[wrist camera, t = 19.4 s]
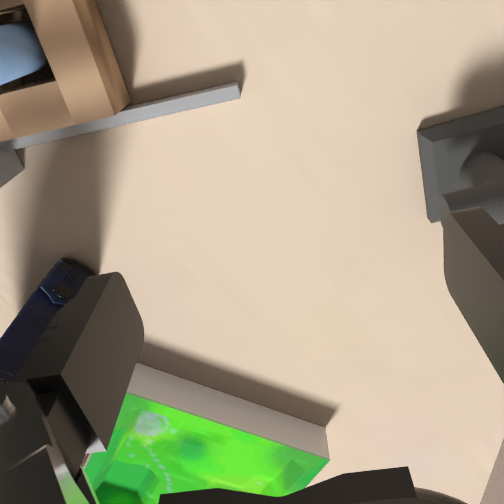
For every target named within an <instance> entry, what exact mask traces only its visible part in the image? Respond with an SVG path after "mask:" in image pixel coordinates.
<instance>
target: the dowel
mask: <svg viewBox="0 0 504 504" xmlns="http://www.w3.org/2000/svg"><path fill="white" fill-rule="evenodd" d="M48 66H50V64H49V62H48V60H47V57H46V55H45V52H44V50H43V48H42V45H41V43H40V40H39V38H38V36H37V33H36V31H35V28H34V26H33V24H32V21H31V20H30V21H24V22H18V23H12V24H6V25H0V85H2V84H5V83H7V82H10V81H12V80H15V79H17V78H20V77H23V76H25V75H28V74H30V73H33V72H35V71H38V70H40V69H43V68H46V67H48Z"/></svg>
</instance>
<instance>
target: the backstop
mask: <svg viewBox="0 0 504 504" xmlns="http://www.w3.org/2000/svg"><path fill="white" fill-rule="evenodd" d="M240 96H241V93H240V88H239V84H238V81H237V82H233V83H229V84H224V85H220V86H216V87H212V88H207V89H203V90H199V91H194V92H190V93H186V94H181V95H177V96H173V97H168V98H164V99H160V100H155V101H151V102H147V103H142V104H138V105H134V106H130V107H125V108H123V109H122V110H121V111H120V112H118V113H117V114H116V115H115V116H111V117H107V118H103V119H98V120H94V121H89V122H85V123H81V124H76V125H72V126H68V127H63V128H59V129H55V130H50V131H46V132H42V133H37V134H33V135H29V136H24V137H20V138H16V139H11V140H7V141H3V142H0V188H1V187H2V186H3V185H5V184H6V183H7V182H9V181H10V180H11V179H12V178H14V177H15V176H16V175H17V174H19V173H20V172H21V171H23V170H24V167H23V165H22V163H21V161H20V159H19V157H18V155H17V153H16V151H15V149H19V148H23V147H28V146H32V145H37V144H41V143H45V142H50V141H54V140H59V139H63V138H68V137H72V136H76V135H81V134H85V133H90V132H94V131H98V130H103V129H107V128H112V127H116V126H120V125H125V124H129V123H134V122H138V121H143V120H147V119H151V118H156V117H160V116H165V115H169V114H173V113H178V112H182V111H187V110H191V109H195V108H200V107H204V106H209V105H213V104H218V103H222V102H226V101H231V100H235V99H240Z"/></svg>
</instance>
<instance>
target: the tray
mask: <svg viewBox="0 0 504 504" xmlns="http://www.w3.org/2000/svg"><path fill="white" fill-rule="evenodd" d="M329 461H330V458H329V451H328V444H327V436H326V429H325V427H322V426H319V425H316V424H313V423H310V422H307V421H304V420H302V419H299V418H296V417H293V416H290V415H287V414H284V413H281V412H278V411H276V410H273V409H270V408H267V407H264V406H261V405H258V404H255V403H252V402H250V401H247V400H244V399H241V398H238V397H235V396H232V395H229V394H226V393H224V392H221V391H218V390H215V389H212V388H209V387H206V386H203V385H200V384H198V383H195V382H192V381H189V380H186V379H183V378H180V377H177V376H174V375H172V374H169V373H166V372H163V371H160V370H157V369H154V368H151V367H148V366H146V365H143V364H140V363H137V362H136V365H135V368H134V371H133V374H132V377H131V380H130V383H129V386H128V389H127V392H126V395H125V398H124V401H123V404H122V407H121V410H120V413H119V416H118V419H117V422H116V425H115V428H114V430H113V433H112V436H111V439H110V442H109V445H108V448H107V451H104V452H96V453H89V455H88V457H87V460H86V462H85V464H84V466H83V469H84V470H85V472H86V474H87V476H88V478H89V480H90V483H91V485H92V487H93V489H94V492H95V494H96V496H97V499H98V501H99V503H100V504H158V503H159V498H160V494H167V493H176V492H185V491H194V490H202V489H211V488H222V489H229V490H235V491H242V492H248V493H255V494H261V495H267V496H274V497H280V496H285V495H288V494H291V493H293V492H296V491H299V490H301V489H304V488H305V487H306V486H307V485H308V484H309V483H310V482H311V481H312V479H313V478H314V477H315V476H316V475H317V474H318V473H319V472H320V471H321V470H322V468H323V467H324V466H325V465H326V464H327V463H328V462H329Z"/></svg>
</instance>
